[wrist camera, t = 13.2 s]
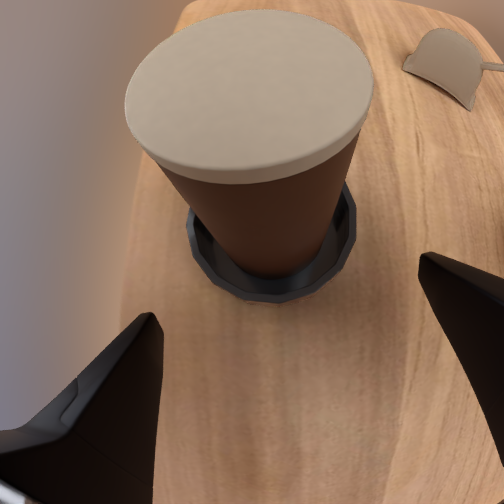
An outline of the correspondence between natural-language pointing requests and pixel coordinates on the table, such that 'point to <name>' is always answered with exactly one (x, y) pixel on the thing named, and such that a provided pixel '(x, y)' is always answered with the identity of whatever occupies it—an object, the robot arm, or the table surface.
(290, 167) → the brown lidded canister
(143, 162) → the table surface
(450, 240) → the table surface
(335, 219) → the bowl
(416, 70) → the beige curved piece
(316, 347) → the table surface
